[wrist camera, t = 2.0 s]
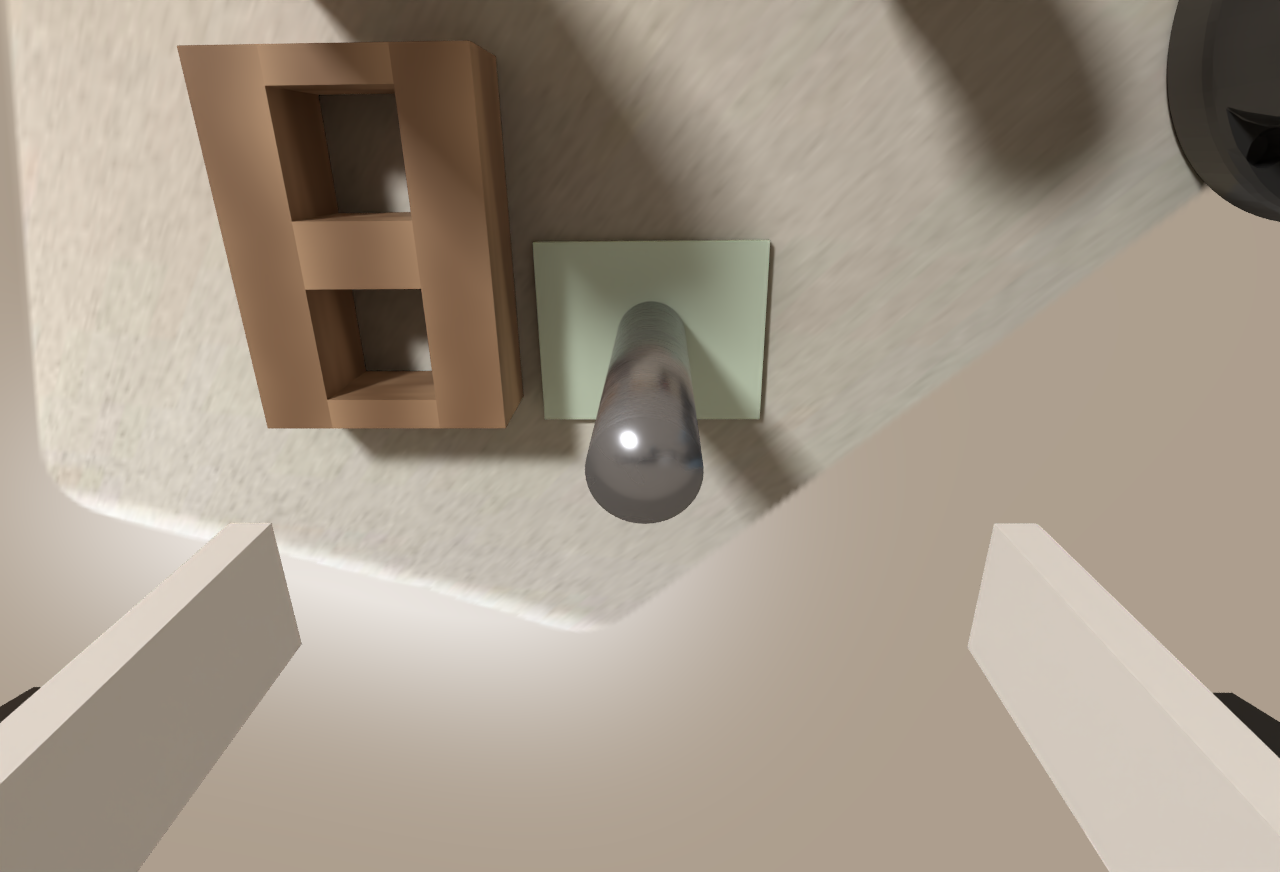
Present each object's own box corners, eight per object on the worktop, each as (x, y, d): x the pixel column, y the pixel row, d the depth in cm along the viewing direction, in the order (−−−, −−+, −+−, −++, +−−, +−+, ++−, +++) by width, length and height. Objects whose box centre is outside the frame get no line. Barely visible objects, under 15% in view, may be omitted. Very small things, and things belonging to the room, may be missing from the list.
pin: (685, 301, 30) (705, 416, 17) (684, 367, 31) (701, 523, 18) (616, 301, 30) (582, 416, 17) (618, 367, 31) (587, 523, 18)
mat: (768, 239, 29) (770, 240, 28) (758, 416, 32) (759, 419, 32) (534, 241, 29) (532, 242, 29) (546, 416, 32) (544, 419, 32)
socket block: (495, 56, 27) (469, 40, 23) (523, 396, 32) (505, 428, 28) (243, 60, 27) (176, 45, 23) (313, 396, 32) (267, 428, 28)
